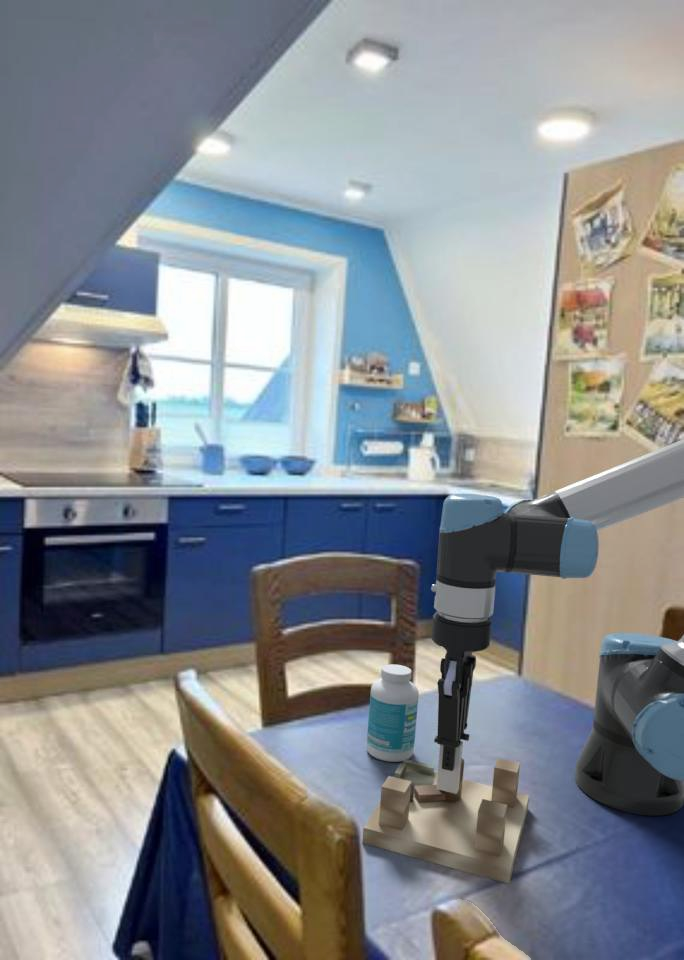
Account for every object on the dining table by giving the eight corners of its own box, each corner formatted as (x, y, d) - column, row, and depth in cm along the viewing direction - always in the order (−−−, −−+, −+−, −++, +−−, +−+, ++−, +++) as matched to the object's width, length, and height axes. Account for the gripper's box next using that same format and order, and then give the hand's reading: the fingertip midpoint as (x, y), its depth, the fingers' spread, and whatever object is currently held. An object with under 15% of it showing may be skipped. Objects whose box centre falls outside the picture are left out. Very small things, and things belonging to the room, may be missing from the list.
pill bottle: (410, 767, 115) (417, 681, 113) (362, 759, 116) (368, 674, 115) (415, 746, 122) (422, 664, 120) (370, 738, 123) (376, 658, 122)
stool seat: (527, 809, 105) (532, 760, 104) (509, 883, 88) (514, 826, 87) (402, 778, 111) (405, 732, 110) (362, 842, 94) (366, 789, 93)
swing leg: (419, 803, 100) (422, 766, 100) (412, 790, 103) (415, 755, 103) (464, 800, 101) (467, 765, 101) (456, 788, 105) (459, 753, 104)
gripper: (444, 599, 105) (431, 762, 108) (421, 621, 93) (407, 805, 96) (499, 607, 103) (484, 774, 105) (483, 632, 91) (466, 820, 93)
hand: (447, 788), depth 100 cm, fingers closed
